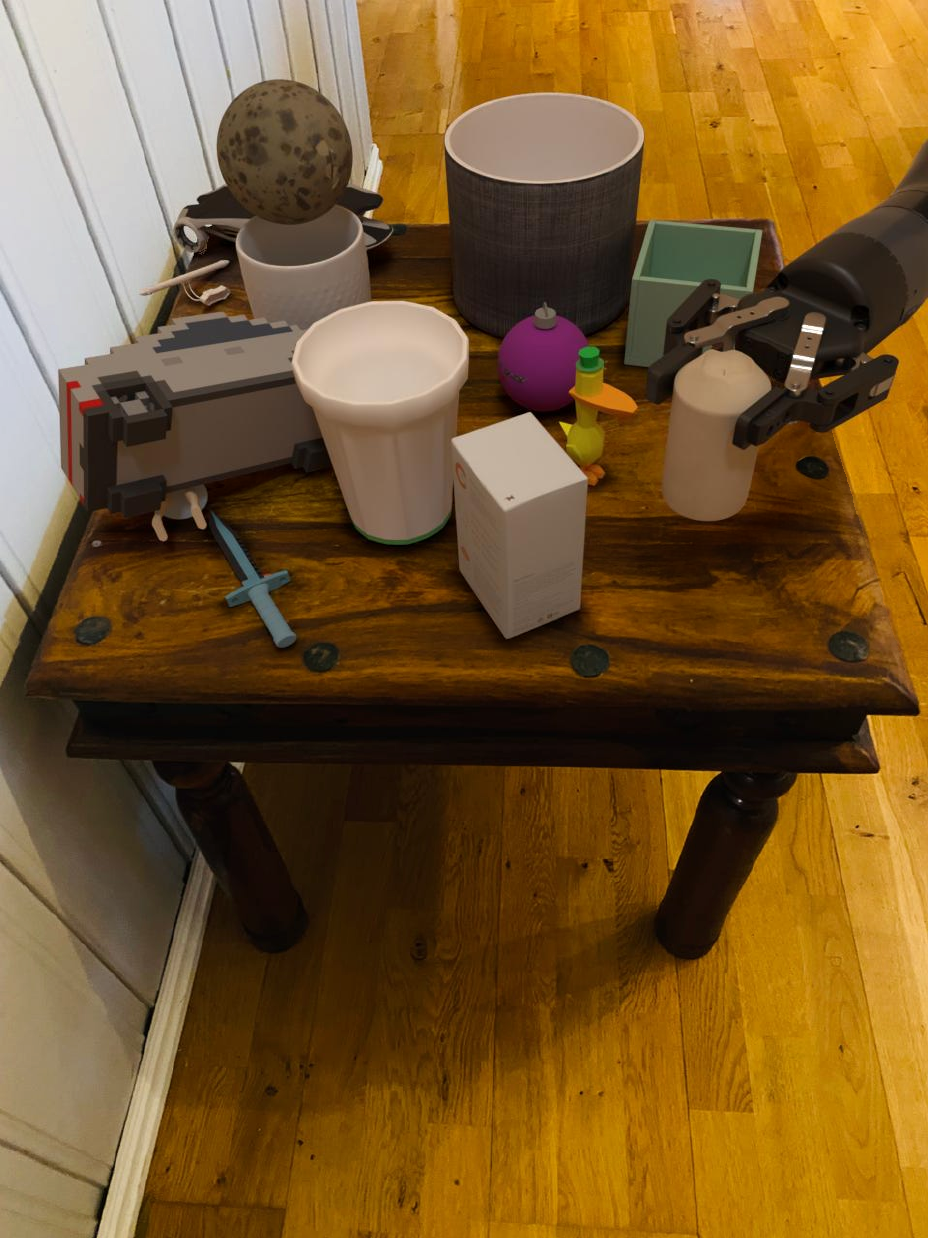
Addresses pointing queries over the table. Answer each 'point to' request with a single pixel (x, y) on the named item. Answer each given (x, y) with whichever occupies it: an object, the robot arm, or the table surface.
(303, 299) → the mug
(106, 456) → the toy car
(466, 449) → the small box
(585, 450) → the toy figure
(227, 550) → the knife
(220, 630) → the table surface
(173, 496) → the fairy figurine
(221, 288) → the picture light
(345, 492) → the cup
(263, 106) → the decorative egg
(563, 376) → the christmas ornament
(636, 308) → the waste bin
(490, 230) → the planter
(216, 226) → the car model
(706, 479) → the candle
